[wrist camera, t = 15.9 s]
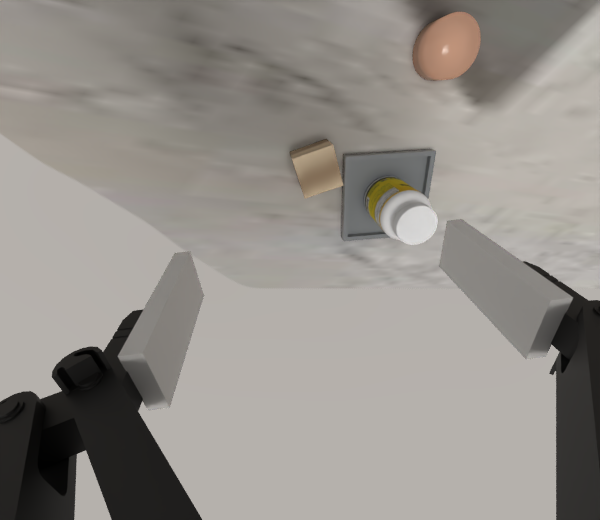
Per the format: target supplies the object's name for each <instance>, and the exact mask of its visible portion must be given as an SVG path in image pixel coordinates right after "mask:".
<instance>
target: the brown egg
mask: <svg viewBox="0 0 600 520" xmlns="http://www.w3.org/2000/svg"><path fill="white" fill-rule="evenodd" d="M480 39H481V36H480V29H479V26H478V24H477V22H476V20H475V19H474V18H473V17H472V16H471V15H469V14H467V13H465V12H454V13H451V14H449V15H446V16H444V17H442V18H440V19H437V20H435V21H433V22H431V23H429V24H428V25H427V26H426V27H425V28H424V29H423V30H422V31H421V32H420V34H419V35H418V37H417V39H416V41H415V44H414V48H413V56H412V57H413V65H414V68H415V70H416V72H417V73H418V74H419V75H420V76H421V77H422V78H424V79H426V80H430V81H436V80H448V79H453V78H456V77H458V76H460V75H462V74H463V73H464V72H465V71H466V70H468V68H469V67H470V66H471V65H472V63H473V62H474V60H475V58H476V56H477V54H478V51H479V47H480Z"/></svg>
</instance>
